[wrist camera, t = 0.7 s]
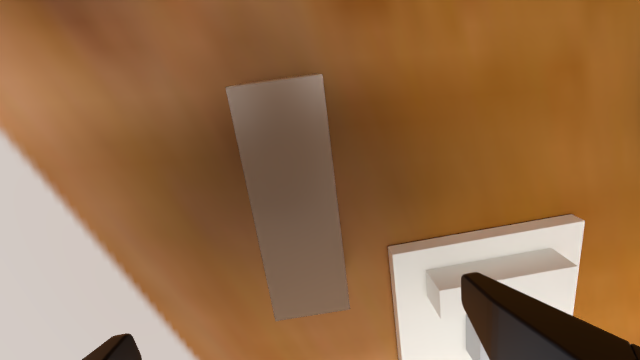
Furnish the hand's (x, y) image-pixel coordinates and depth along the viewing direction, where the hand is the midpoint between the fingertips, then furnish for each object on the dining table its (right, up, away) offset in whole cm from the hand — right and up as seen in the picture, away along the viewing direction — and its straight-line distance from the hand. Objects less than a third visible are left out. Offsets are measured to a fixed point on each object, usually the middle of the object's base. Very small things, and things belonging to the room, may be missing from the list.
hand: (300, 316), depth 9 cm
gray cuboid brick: (-1, +3, +10) cm, 11 cm away
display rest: (+12, -6, +14) cm, 19 cm away
